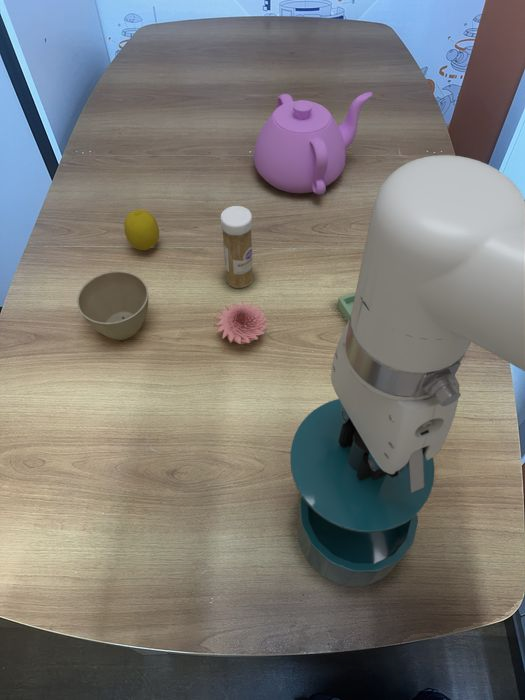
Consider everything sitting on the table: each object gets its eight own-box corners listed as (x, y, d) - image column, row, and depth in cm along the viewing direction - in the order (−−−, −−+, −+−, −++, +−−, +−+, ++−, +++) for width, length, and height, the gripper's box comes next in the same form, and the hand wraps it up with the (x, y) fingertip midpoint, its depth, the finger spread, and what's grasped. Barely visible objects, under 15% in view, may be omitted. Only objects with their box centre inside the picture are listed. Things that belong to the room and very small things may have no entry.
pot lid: (460, 499, 50) (479, 476, 46) (329, 559, 47) (336, 541, 43) (385, 384, 57) (395, 354, 53) (267, 430, 54) (268, 402, 50)
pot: (423, 559, 63) (440, 541, 57) (326, 605, 60) (333, 592, 54) (369, 465, 70) (379, 440, 63) (280, 503, 67) (281, 481, 61)
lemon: (152, 263, 90) (144, 226, 84) (123, 254, 91) (113, 218, 85) (168, 241, 93) (160, 204, 87) (140, 233, 94) (130, 196, 88)
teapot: (386, 191, 101) (401, 123, 89) (277, 219, 96) (279, 151, 85) (337, 127, 112) (345, 59, 101) (238, 149, 108) (235, 81, 97)
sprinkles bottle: (247, 292, 86) (245, 229, 75) (221, 285, 87) (215, 221, 76) (257, 272, 89) (256, 208, 78) (231, 265, 90) (227, 201, 79)
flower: (272, 354, 80) (273, 331, 75) (218, 361, 79) (215, 339, 74) (264, 313, 84) (264, 289, 79) (213, 319, 83) (210, 295, 79)
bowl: (139, 360, 79) (129, 331, 73) (78, 344, 81) (63, 314, 75) (166, 309, 85) (158, 278, 79) (108, 295, 86) (96, 264, 80)
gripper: (530, 422, 32) (446, 519, 47) (389, 245, 41) (356, 375, 56) (423, 469, 31) (371, 554, 46) (299, 274, 39) (290, 400, 54)
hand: (363, 455), depth 51 cm, fingers closed on pot lid, 2 cm apart
